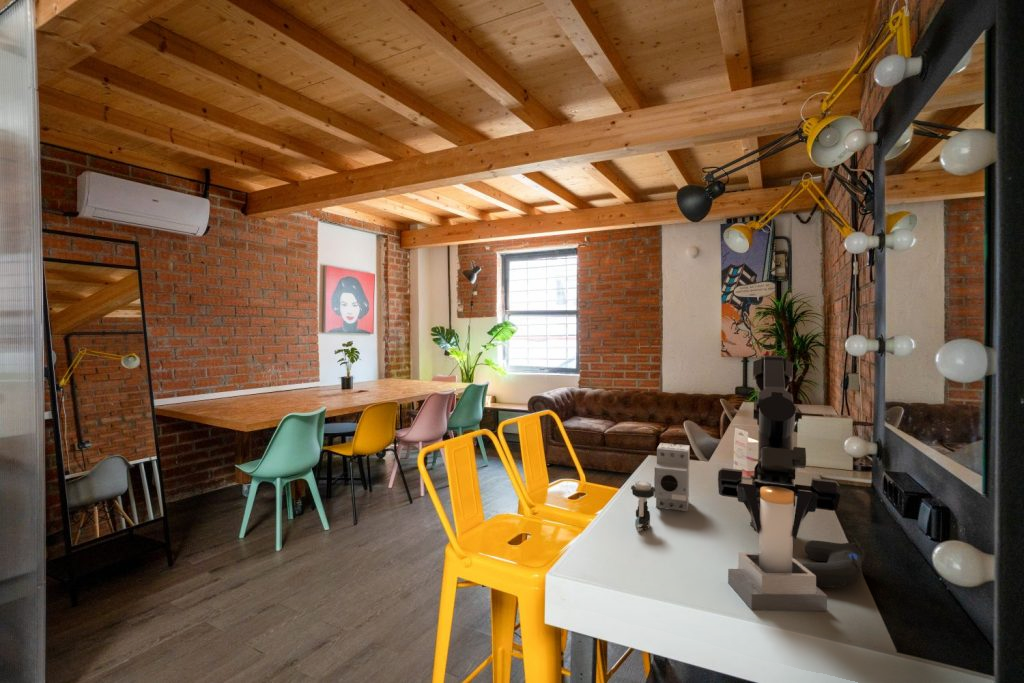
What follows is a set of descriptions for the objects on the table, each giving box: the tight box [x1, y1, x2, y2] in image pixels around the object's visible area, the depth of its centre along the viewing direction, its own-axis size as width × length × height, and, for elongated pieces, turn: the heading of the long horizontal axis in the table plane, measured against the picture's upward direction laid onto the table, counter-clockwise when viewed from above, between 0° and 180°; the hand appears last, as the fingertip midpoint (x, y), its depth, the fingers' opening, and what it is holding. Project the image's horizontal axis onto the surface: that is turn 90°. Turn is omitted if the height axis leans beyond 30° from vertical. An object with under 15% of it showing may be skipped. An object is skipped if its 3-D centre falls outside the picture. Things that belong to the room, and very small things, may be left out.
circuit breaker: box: [653, 442, 691, 512], centre depth 130 cm, size 8×14×15 cm, turn 158°
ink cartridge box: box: [732, 427, 758, 477], centre depth 161 cm, size 9×5×15 cm, turn 5°
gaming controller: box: [799, 538, 866, 588], centre depth 94 cm, size 17×6×10 cm
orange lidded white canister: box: [758, 486, 795, 573], centre depth 86 cm, size 5×5×14 cm
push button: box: [630, 480, 655, 532], centre depth 117 cm, size 7×5×10 cm
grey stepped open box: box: [727, 552, 828, 612], centre depth 86 cm, size 12×9×6 cm
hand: (776, 534), depth 85 cm, fingers closed on orange lidded white canister, 5 cm apart
